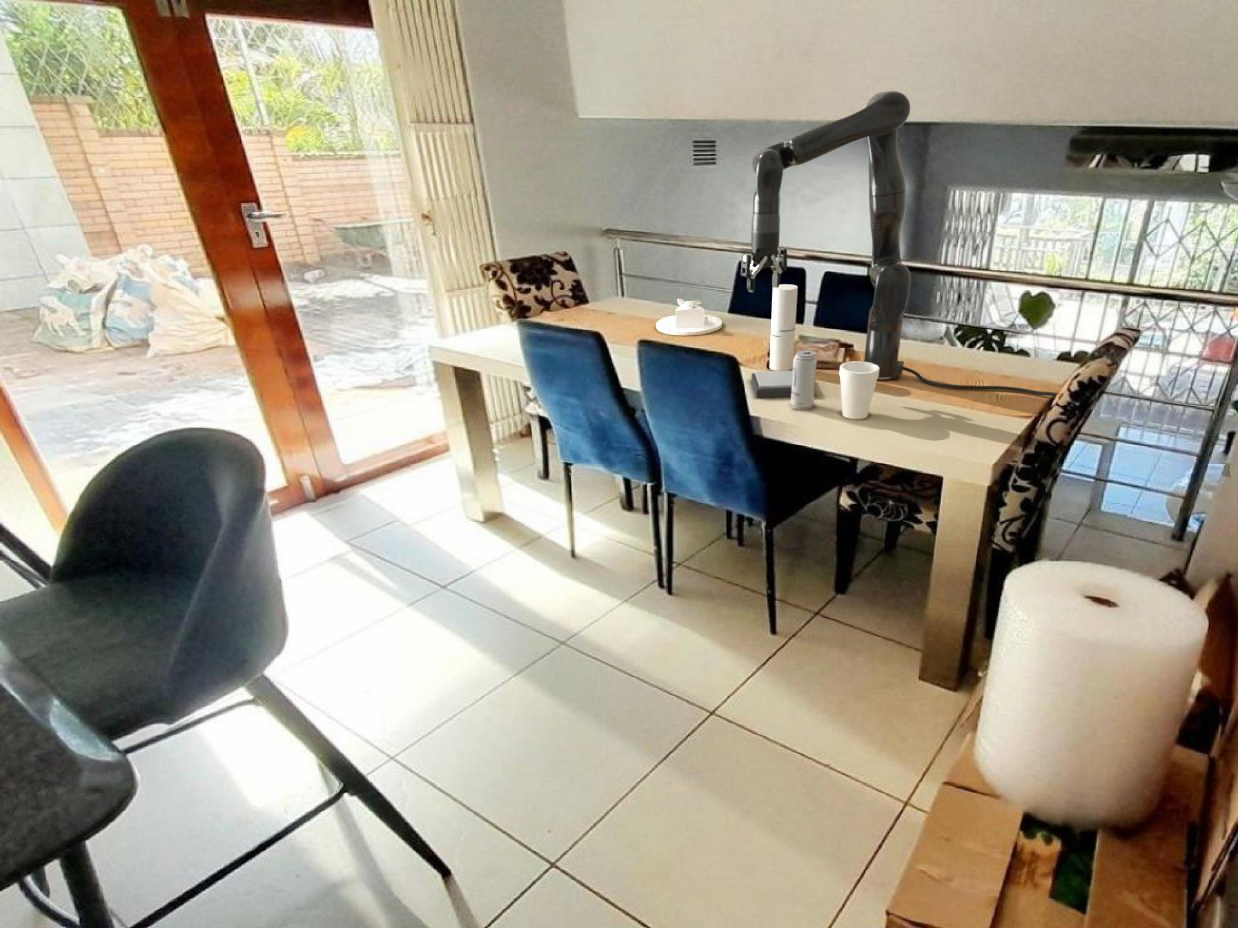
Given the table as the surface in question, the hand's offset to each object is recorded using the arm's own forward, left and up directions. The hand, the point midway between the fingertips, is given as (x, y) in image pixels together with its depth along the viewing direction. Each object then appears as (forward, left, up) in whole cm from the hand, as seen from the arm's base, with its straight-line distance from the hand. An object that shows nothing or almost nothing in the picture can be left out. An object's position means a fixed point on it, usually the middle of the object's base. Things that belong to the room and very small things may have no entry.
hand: (763, 289), depth 198 cm
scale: (-7, +5, -27) cm, 29 cm away
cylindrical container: (-3, -13, -28) cm, 31 cm away
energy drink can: (-15, +17, -28) cm, 36 cm away
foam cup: (-29, +19, -28) cm, 44 cm away
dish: (+40, -52, -27) cm, 71 cm away
